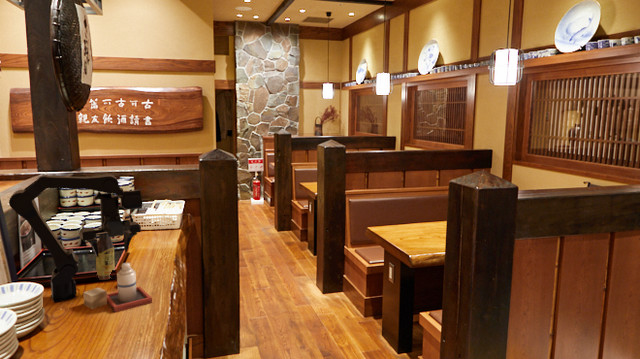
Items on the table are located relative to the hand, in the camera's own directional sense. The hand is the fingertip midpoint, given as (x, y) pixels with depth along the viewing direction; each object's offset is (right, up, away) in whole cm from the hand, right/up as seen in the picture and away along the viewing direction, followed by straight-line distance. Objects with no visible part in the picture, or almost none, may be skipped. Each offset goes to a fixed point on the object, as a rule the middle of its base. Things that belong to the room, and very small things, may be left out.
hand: (111, 254), depth 150 cm
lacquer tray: (+9, -15, -7) cm, 18 cm away
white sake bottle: (+9, -13, -7) cm, 18 cm away
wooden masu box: (0, -15, -10) cm, 18 cm away
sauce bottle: (-8, -11, +12) cm, 19 cm away
